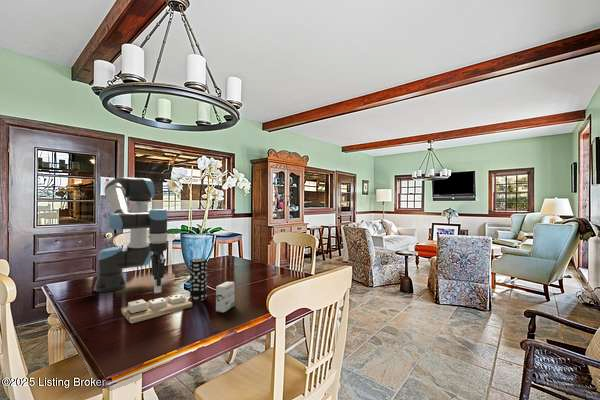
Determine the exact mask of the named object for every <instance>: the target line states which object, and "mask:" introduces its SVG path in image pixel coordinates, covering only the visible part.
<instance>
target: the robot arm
mask: <svg viewBox="0 0 600 400" xmlns="http://www.w3.org/2000/svg"><path fill="white" fill-rule="evenodd" d="M104 196H105V198H107V199H108V203H109V209H110V214H109V213H108V216H107V225H108V229H110V230H111V231H113V230H117V231H121V230H130V237H129V238H130V239H129V241H130V242H129V243H128V244H127V245H126V248H123V246H113V247H108V248H104V249H101V250H99V252H98V257H97V260H98V269H97V273H98V275H97V279H96V281H95V284H94V287H93V291H94V292H95V291H96V292H95V293H110V292H109V291H111V292H115V291H116V292H117V291H120V290H122V289H125V288H126V287H127V283H126V278H125V277H124V273H123V270H124V269H131V268H132V269H133V268H139V267H145V266H147V265H149V264H150V263H151V270H152V271H151V272H152V277H153V282H154V283H153V293H154V294H160V293H162V279H163V278H164V275H165V274H164V273H165V266H166V264H165V263H166V258H165V254H164V252H165V251H167V250H168V243H167V241H168V211H167V209H165V208H164V209H163V208H162V209H161V208H155V209H154V208H153V209H150V210H149V211H148V209H149V203H150V202H152V199H154V198H155V185H154V183H153V181H152V180H151V179H150V178H144V177H125V176H123V177H116V178H114V179H111V180H110V181H109V182H108V183H107V184H106V186H104ZM127 198H128V202H129V203H130V205H131V206H130V207H131V208H130V207H129V204H128V202H127ZM148 233H149V234H148ZM147 235H148V236H147ZM147 239H148V240H149V242H147V241H148V240H147Z"/></svg>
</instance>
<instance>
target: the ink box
mask: <svg viewBox="0 0 600 400" xmlns="http://www.w3.org/2000/svg"><path fill="white" fill-rule="evenodd" d="M235 285H236V284H235V282H234V281H225V282H223V283H221V284H218V285H216V286H215V312H219V313H225V312H227V311H228V310H230V309H232V308H234V307H235V305H236V304H235V301H236V300H235V298H236V297H235V295H236V294H235V287H236V286H235Z"/></svg>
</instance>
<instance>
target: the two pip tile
mask: <svg viewBox="0 0 600 400" xmlns="http://www.w3.org/2000/svg"><path fill="white" fill-rule="evenodd" d="M164 298H165V297H158V298H154V299H150V300H148V302H149V307H150V308H151V309H156V308H160V307H164V306H167V301H166V300H165V299H164Z"/></svg>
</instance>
